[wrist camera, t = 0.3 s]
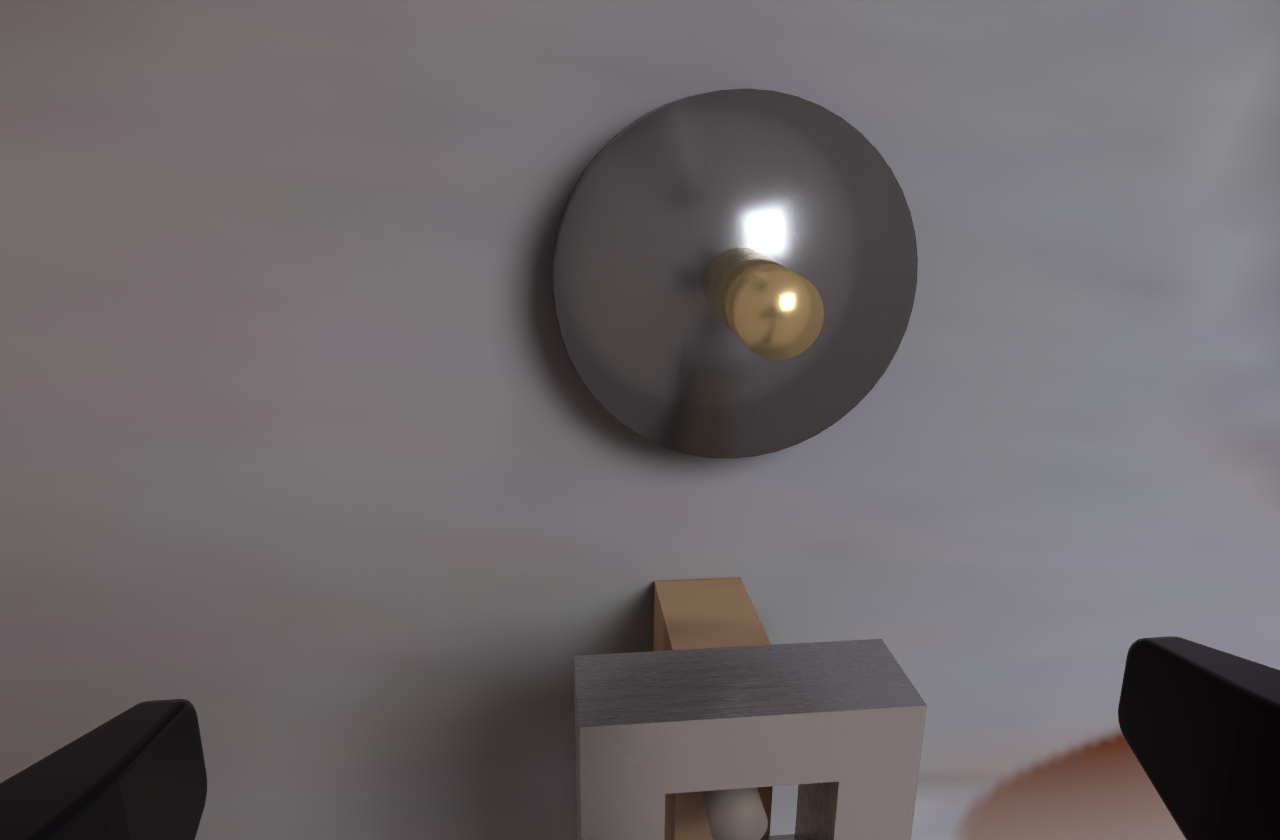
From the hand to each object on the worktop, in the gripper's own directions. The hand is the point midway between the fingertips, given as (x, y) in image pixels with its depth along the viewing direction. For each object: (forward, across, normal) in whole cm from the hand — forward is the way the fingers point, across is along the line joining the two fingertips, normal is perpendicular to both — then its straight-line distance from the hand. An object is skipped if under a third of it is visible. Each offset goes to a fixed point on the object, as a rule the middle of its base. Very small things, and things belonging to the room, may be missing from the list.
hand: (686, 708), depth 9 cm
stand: (+14, -2, +8) cm, 16 cm away
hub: (+13, -3, -2) cm, 14 cm away
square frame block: (+10, -2, +8) cm, 13 cm away
